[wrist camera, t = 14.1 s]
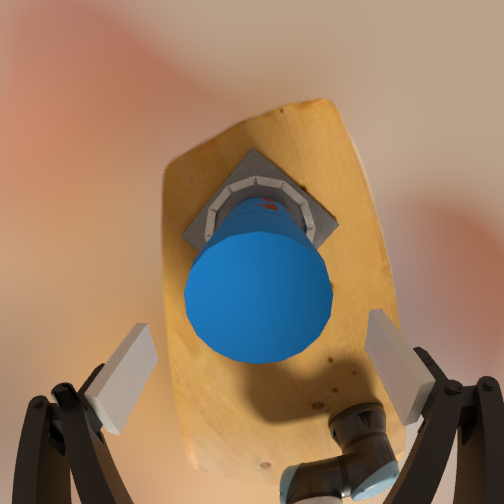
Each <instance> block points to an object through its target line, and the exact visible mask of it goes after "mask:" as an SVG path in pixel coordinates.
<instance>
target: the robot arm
mask: <svg viewBox="0 0 504 504" xmlns="http://www.w3.org/2000/svg"><path fill="white" fill-rule="evenodd" d="M365 350H366V352H367V354H368V356H369V357H370V359H371V361H372V363H373V365H374V367H375V369H376V371H377V373H378V375H379V377H380V379H381V381H382V383H383V385H384V387H385V389H386V391H387V393H388V395H389V397H390V399H391V401H392V403H393V405H394V408H395V410H396V412H397V414H398V416H399V418H400V420H401V422H402V425H403V426H405V425H408V424H412V423H414V422H417V421H418V419H419V417H420V415H421V414H422V416H423V418H424V420H423V422H422V425H421V426H420V428H419V430H418V435H417V437H416V440H415V442H414V444H413V447H412V449H411V452H410V453H409V456H408V458H407V460H406V462H405V464H404V466H403V468H402V470H401V472H399V468H398V462H397V460H396V458H395V456H394V453H393V450H392V448H391V445H390V442H389V440H388V437H387V435H386V414H385V411H384V409H383V407H382V406H381V405H379V404H376V403H364V404H359V405H356V406H353V407H351V408H348V409H346V410H345V411H343V412H341V413H340V414H339V415H337V416H336V417H335V418H334V419H333V421H332V422H331V424H330V432H331V436H332V438H333V439H334V441H335V442H336V443H337V445H338V446H339V447H340V449H341V450H342V454H343V455H341V456H337V457H333V458H328V459H324V460H319V461H314V462H309V463H301V464H298V465H293V466H289V467H287V468H286V469H285V470H284V471H283V473H282V476H281V480H280V503H281V504H342V503H343V502H342V498H345V497H349V496H351V498H352V499H353V500H354V501H359V500H365V499H368V498H371V497H373V496H375V495H377V494H379V493H381V492H383V491H385V490H386V489H388V488H389V487H391V486H392V485H393V484H394V485H393V487H392V489H391V491H390V493H389V494H388V496H387V498H386V499H385V501H384V502H383V504H431V502H432V500H433V497H434V495H435V493H436V491H437V488H438V486H439V483H440V481H441V478H442V475H443V472H444V470H445V467H446V464H447V461H448V458H449V455H450V451H451V449H452V445H453V441H454V438H455V434H456V430H458V431H457V432H458V433H457V435H458V436H457V438H458V447H457V448H458V451H457V471H456V472H457V473H456V483H455V492H454V500H453V504H504V402H503V398H502V393H501V390H500V386H499V383H498V381H497V380H496V379H495V378H492V377H490V376H484V377H481V378H480V379H479V380H478V382H477V384H476V385H474V386H463V385H462V384H461V383H460V382H458V381H455V380H448V378H447V377H446V376H445V374H444V373H443V372H442V370H441V369H440V368H439V366H438V365H437V364H436V363H435V361H434V360H433V359H432V358H431V356H430V355H429V354H428V352H427V351H425V350H424V349H422V348H421V347H416V348H412V347H411V346H410V344H409V343H408V342H407V340H406V339H405V338H404V337H403V335H402V334H401V333H400V331H399V330H398V329H397V328H396V326H395V325H394V324H393V322H392V321H391V320H390V319H389V317H388V316H387V315H386V314H385V312H384V311H383V310H382V309H374V310H370V312H369V321H368V329H367V336H366V343H365ZM157 361H158V357H157V354H156V351H155V347H154V344H153V341H152V338H151V334H150V331H149V327H148V324H147V323H136V325H135V326H134V327H133V328H132V330H131V331H130V332H129V334H128V335H127V336H126V338H125V339H124V340H123V342H122V343H121V344H120V345H119V347H118V348H117V350H116V351H115V352H114V353H113V355H112V356H111V357H110V359H109V360H108V361H107V363H106V364H103V363H102V364H101V365H99V366H98V367H97V368H95V369H94V371H93V372H92V373H91V375H90V376H89V377H88V380H86V381H85V383H84V384H83V385H82V387H81V388H80V390H79V391H78V392H76V391H75V389H74V387H73V385H72V384H70V383H66V382H65V383H60V384H58V385H56V386H55V387H54V388H53V389H52V391H51V395H52V397H53V398H54V400H55V402H56V403H50V402H49V401H48V399H47V398H46V397H45V396H42V395H40V396H36V397H34V398H33V399H32V400H31V401H30V403H29V405H28V408H27V412H26V416H25V420H24V424H23V428H22V432H21V437H20V442H19V447H18V453H17V459H16V465H15V473H14V482H13V494H12V504H72V503H71V485H70V468H71V472H72V475H73V479H74V482H75V485H76V489H77V492H78V495H79V498H80V501H81V503H82V504H134V503H133V501H132V500H131V497H130V496H129V494H128V492H127V490H126V488H125V486H124V484H123V482H122V479H121V477H120V475H119V473H118V471H117V469H116V466H115V464H114V462H113V459H112V457H111V454H110V452H109V449H108V447H107V444H106V441H105V439H104V436H103V433H102V432H101V430H100V429H101V427H102V425H103V426H104V427H105V429H106V430H107V432H110V433H113V434H117V435H121V433H122V430H123V428H124V426H125V424H126V422H127V420H128V418H129V416H130V414H131V412H132V410H133V408H134V406H135V404H136V402H137V400H138V398H139V396H140V394H141V392H142V390H143V388H144V386H145V384H146V382H147V380H148V378H149V376H150V374H151V372H152V370H153V369H154V367H155V365H156V363H157Z"/></svg>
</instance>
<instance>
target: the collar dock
mask: <svg viewBox="0 0 504 504" xmlns="http://www.w3.org/2000/svg"><path fill="white" fill-rule="evenodd" d="M256 197H264V198H270V199H273V200H275V201H276V202H278V203H280V204H281V205H283V206H285V207H286V209H287V210H288V211H289V212H290V213H291V215H292V216H293V217H294V219H295V220H296V221H297V223H298V224H299V225H300V227H301V228H302V230H303V231H304V233H305V234H306V235H307V237H308V238H309V240H310V241H311V243H312V244H313V245H314V247H315V248H316V250H317V249H318V248H319V247H320V246H321V245H322V243H323V242H324V241H325V240H326V239H327V238H328V237H329V236H330V235H331V234H332V232H333V231H334V230H335V229H336V228H337V227H338V226H339V224H338V223H337V222H336V221H335V220H334V219H333V218H332V217H331V216H330V215H329V214H328V213H327V212H326V211H325V210H323V209H322V208H321V207H320V206H319V205H318V204H317V203H316V202H315V201H314V200H313V199H312V198H310V197H309V196H308V195H307V194H306V193H305V192H304V191H303V190H302V189H300V188H299V187H298V186H297V185H296V184H295V183H294V182H293V181H291V180H290V179H289V178H288V177H287V176H286V175H285V174H283V173H282V172H281V171H280V170H279V169H278V168H276V167H275V166H274V165H273V164H272V163H270V162H269V161H268V160H267V159H266V158H264V157H263V156H262V155H261V154H260V153H258V152H257V151H256V150H255V149H252V150H251V151H250V152H249V153H248V154H247V156H246V157H245V158H244V159H243V160H242V161H241V163H240V164H239V165H238V166H237V167H236V169H235V170H234V171H233V172H232V173H231V174H230V176H229V177H228V178H227V179H226V181H225V182H224V183H223V184H222V185H221V187H220V188H219V189H218V190H217V191H216V193H215V194H214V195H213V196H212V198H211V199H210V200H209V201H208V203H207V204H206V205H205V206H204V208H203V209H202V210H201V212H200V213H199V214H198V215H197V217H196V218H195V219H194V221H193V222H192V223H191V224H190V226H189V227H188V228H187V230H186V231H185V232H184V234H183V235H182V236H181V237H182V238H184V239H185V240H186V241H187V242H188V243H190V244H191V245H192V246H193V247H195V248H196V249H197V250H198V251H201V250H202V249H203V247H204V246H205V245H206V243H207V242H208V241H209V239H210V238H211V237H212V235H213V234H214V233H215V231H216V230H217V229H218V227H219V226H220V225H221V223H222V222H223V221H224V219H225V218H226V217H227V216H228V214H229V213H230V212H231V211H232V210H233V208H234V207H235V206H237V205H238V204H240V203H242V202H244V201H245V200H247V199H250V198H256Z"/></svg>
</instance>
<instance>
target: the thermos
mask: <svg viewBox="0 0 504 504" xmlns="http://www.w3.org/2000/svg"><path fill="white" fill-rule="evenodd" d="M184 296H185V304H186V313H187V317H188V319H189V320H190V322H191V324H192V326H193V328H194V330H195V332H196V334H197V335H198V336H199V337H200V338H201V339H202V340H203V341H204V342H205V343H206V344H207V345H208V346H209V347H211V348H212V349H213V350H214V351H216V352H218V353H220V354H222V355H224V356H226V357H228V358H230V359H233V360H235V361H241V362H247V363H254V364H263V363H271V362H278V361H282V360H285V359H287V358H289V357H292V356H294V355H296V354H298V353H300V352H302V351H304V350H305V349H306V348H307V347H308V346H309V345H310V344H311V343H313V342H314V341H315V340H316V339H317V338H318V337H319V336H320V334H321V333H322V331H323V329H324V327H325V325H326V323H327V322H328V320H329V318H330V315H331V307H332V300H333V291H332V287H331V284H330V280H329V276H328V273H327V269H326V266H325V262H324V260H323V258H322V257H321V256H320V254H319V253H318V251H317V250H316V248H315V247H314V245H313V244H312V243H311V241H310V240H309V238H308V237H307V235H306V234H305V233H304V231H303V230H302V228H301V227H300V225H299V224H298V223H297V221H296V220H295V219H294V217H293V216H292V215H291V213H290V212H289V211H288V210H287V209H286V207H285V206H283V205H281V204H280V203H278V202H276V201H275V200H273V199H270V198H264V197H256V198H250V199H247V200H245V201H244V202H242V203H240V204H238V205H237V206H235V207H234V208H233V210H232V211H231V212H230V213H229V214H228V216H227V217H226V218H225V219H224V221H223V222H222V223H221V225H220V226H219V227H218V229H217V230H216V231H215V233H214V234H213V235H212V237H211V238H210V239H209V241H208V242H207V243H206V245H205V246H204V247H203V249H202V250H201V251H200V253H199V254H198V255H197V257H196V258H195V259H194V261H193V264H192V267H191V271H190V274H189V277H188V281H187V284H186V288H185V292H184Z"/></svg>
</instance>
